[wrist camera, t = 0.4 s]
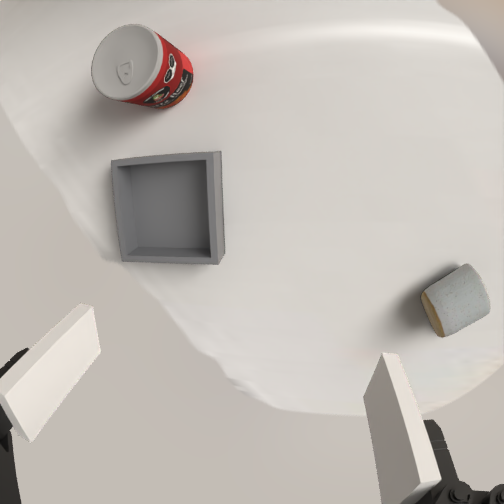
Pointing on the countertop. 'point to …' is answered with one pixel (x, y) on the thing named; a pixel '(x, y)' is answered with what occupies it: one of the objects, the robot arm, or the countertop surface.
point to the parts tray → (170, 208)
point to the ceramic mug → (456, 301)
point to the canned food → (141, 68)
